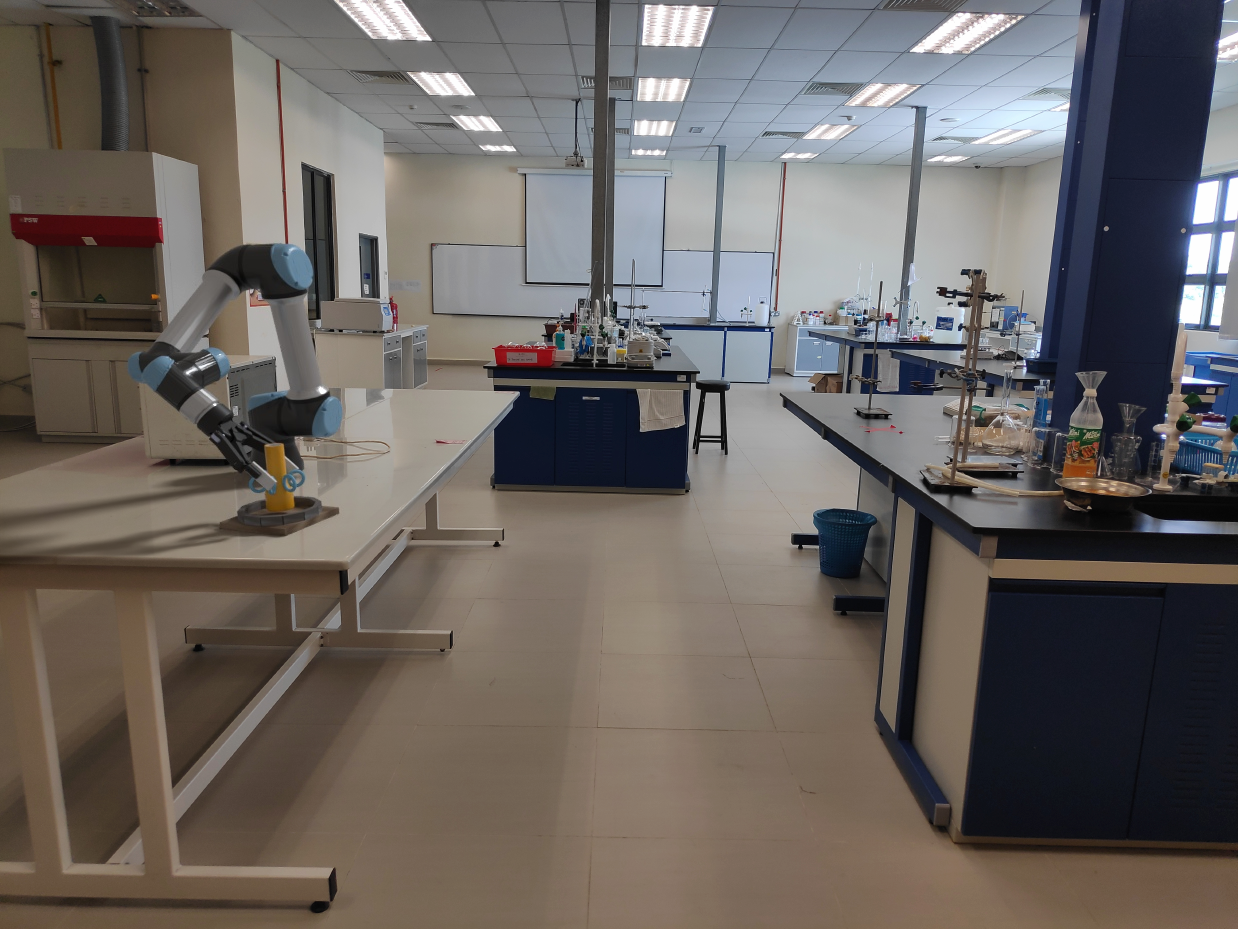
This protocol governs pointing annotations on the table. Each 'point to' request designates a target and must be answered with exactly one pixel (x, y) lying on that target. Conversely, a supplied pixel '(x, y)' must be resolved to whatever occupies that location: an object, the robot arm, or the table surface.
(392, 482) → the table surface
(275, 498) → the cylinder
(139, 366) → the robot arm
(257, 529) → the hub board
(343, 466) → the table surface
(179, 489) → the table surface
